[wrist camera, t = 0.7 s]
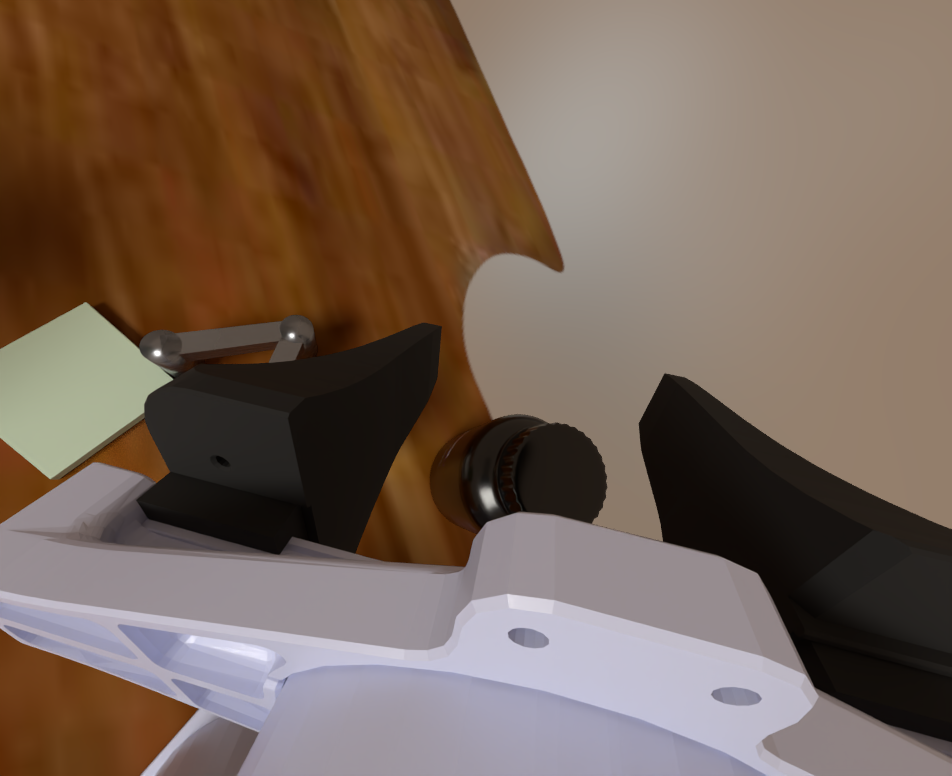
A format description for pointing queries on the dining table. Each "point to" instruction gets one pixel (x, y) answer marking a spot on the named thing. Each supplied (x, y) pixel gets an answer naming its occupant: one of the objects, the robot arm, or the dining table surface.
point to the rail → (230, 344)
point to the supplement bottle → (518, 473)
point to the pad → (72, 390)
